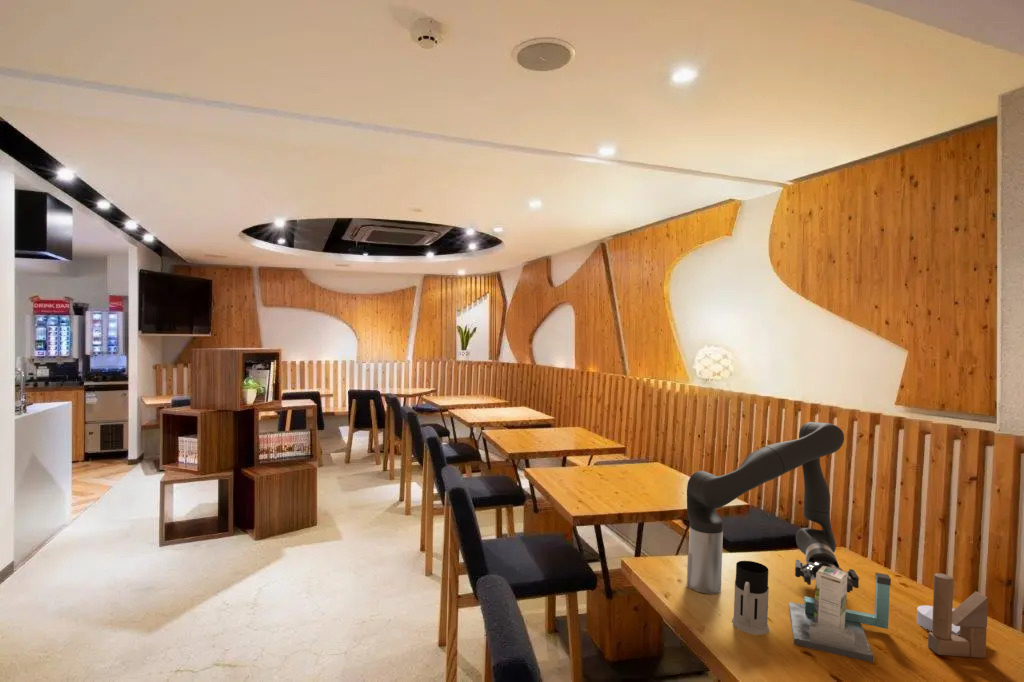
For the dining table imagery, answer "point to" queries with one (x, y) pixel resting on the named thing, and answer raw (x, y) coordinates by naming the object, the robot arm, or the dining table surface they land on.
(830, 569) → the syrup box
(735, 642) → the dining table surface
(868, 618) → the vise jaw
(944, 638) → the wooden block
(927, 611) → the wedge on round base
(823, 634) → the vise
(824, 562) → the robot arm
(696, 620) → the dining table surface
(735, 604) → the glass holder
